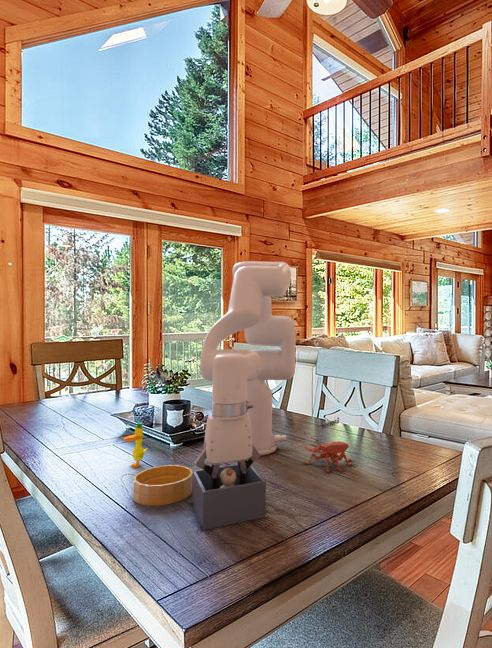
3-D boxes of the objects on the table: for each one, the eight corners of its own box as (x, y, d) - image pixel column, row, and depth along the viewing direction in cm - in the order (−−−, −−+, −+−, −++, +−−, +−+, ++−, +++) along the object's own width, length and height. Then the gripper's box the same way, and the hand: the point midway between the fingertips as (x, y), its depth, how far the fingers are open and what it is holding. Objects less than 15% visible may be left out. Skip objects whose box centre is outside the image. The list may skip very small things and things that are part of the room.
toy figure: (125, 471, 122) (127, 426, 122) (120, 467, 125) (121, 424, 125) (150, 464, 127) (151, 422, 127) (144, 461, 130) (145, 420, 130)
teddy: (236, 501, 103) (236, 461, 103) (242, 510, 98) (242, 469, 98) (213, 505, 101) (213, 465, 101) (218, 515, 96) (218, 473, 96)
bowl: (187, 481, 116) (188, 462, 116) (196, 501, 104) (197, 480, 104) (131, 490, 110) (132, 469, 110) (134, 512, 98) (134, 489, 98)
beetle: (359, 462, 131) (360, 419, 131) (335, 475, 121) (335, 428, 121) (318, 452, 140) (319, 411, 140) (292, 463, 130) (293, 419, 130)
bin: (248, 493, 108) (249, 462, 109) (265, 517, 97) (265, 481, 97) (191, 504, 103) (192, 470, 103) (202, 530, 91) (203, 492, 91)
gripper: (260, 402, 107) (259, 480, 107) (187, 409, 100) (185, 492, 99) (270, 409, 101) (269, 491, 100) (193, 416, 93) (191, 505, 92)
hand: (227, 491), depth 100 cm, fingers closed on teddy, 4 cm apart
